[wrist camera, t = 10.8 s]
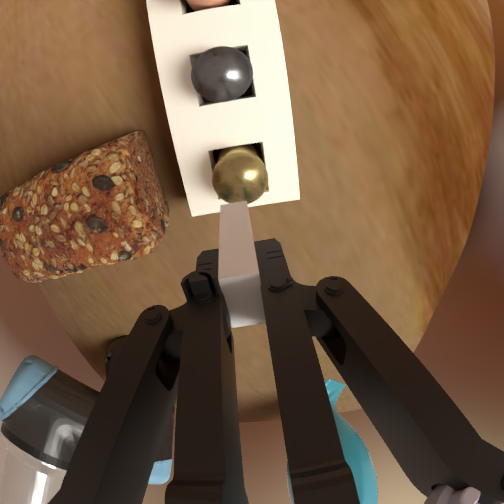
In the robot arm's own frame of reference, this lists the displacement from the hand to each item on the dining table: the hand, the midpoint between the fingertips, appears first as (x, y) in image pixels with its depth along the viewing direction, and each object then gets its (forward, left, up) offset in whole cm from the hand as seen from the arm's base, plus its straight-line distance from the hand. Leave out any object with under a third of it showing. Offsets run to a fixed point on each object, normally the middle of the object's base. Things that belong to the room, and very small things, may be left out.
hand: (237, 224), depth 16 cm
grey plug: (0, +9, -12) cm, 15 cm away
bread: (-17, 0, -13) cm, 21 cm away
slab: (0, +9, -13) cm, 16 cm away
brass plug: (0, 0, -12) cm, 12 cm away
